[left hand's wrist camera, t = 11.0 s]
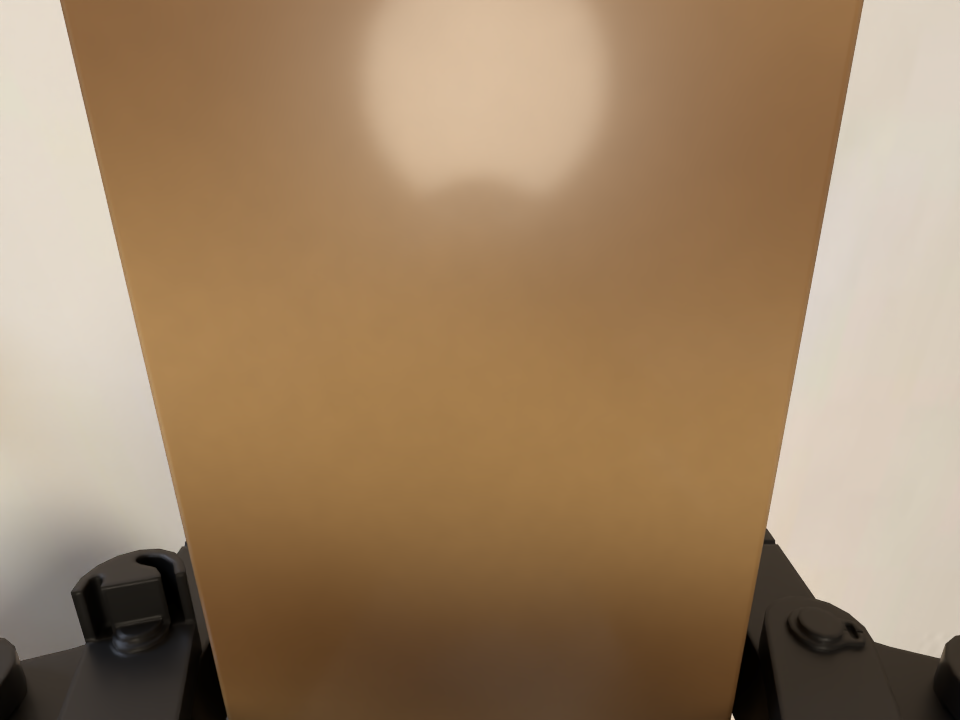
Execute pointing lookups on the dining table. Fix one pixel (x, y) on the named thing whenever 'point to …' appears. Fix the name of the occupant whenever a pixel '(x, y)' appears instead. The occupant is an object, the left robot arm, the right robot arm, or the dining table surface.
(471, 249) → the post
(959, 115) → the dining table surface
